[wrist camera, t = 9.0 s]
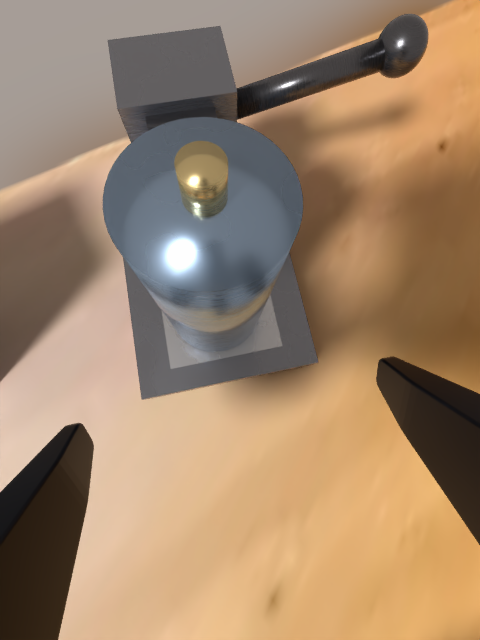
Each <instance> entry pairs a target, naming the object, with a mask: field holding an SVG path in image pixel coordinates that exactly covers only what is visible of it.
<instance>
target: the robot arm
mask: <svg viewBox="0 0 480 640" xmlns="http://www.w3.org/2000/svg"><path fill="white" fill-rule="evenodd" d="M376 381H377V385H378V387H379V389H380V391H381V393H382V395H383V397H384V398H385V400H386V402H387V404H388V406H389V408H390V410H391V411H392V413H393V415H394V417H395V419H396V421H397V423H398V424H399V426H400V428H401V430H402V431H403V433H404V434H405V436H406V437H407V439H408V440H409V442H410V443H411V445H412V446H413V448H414V449H415V451H416V452H417V453H418V455H419V456H420V458H421V459H422V461H423V462H424V464H425V465H426V467H427V468H428V470H429V471H430V473H431V474H432V476H433V477H434V478H435V480H436V481H437V483H438V484H439V486H440V487H441V489H442V490H443V492H444V493H445V495H446V496H447V498H448V499H449V501H450V502H451V503H452V505H453V506H454V508H455V509H456V511H457V512H458V514H459V515H460V517H461V518H462V520H463V521H464V523H465V524H466V526H467V527H468V528H469V530H470V531H471V533H472V534H473V536H474V537H475V539H476V540H477V542H478V543H479V545H480V394H479V393H476V392H474V391H472V390H469V389H467V388H465V387H462V386H460V385H458V384H456V383H453V382H451V381H449V380H446V379H444V378H442V377H440V376H437V375H435V374H433V373H430V372H428V371H426V370H424V369H421V368H419V367H417V366H414V365H412V364H410V363H408V362H405V361H403V360H401V359H398V358H396V357H387V358H382V359H380V360H379V363H378V370H377V377H376ZM93 451H94V445H93V441H92V439H91V437H90V436H89V434H88V432H87V430H86V429H85V427H84V426H83V424H81V423H76V424H71V425H67V426H65V427H64V428H63V429H62V430H61V431H60V432H59V433H58V434H57V435H56V436H55V437H54V438H53V439H52V440H51V441H50V442H49V443H48V444H47V445H46V446H45V447H44V448H43V449H42V450H41V451H40V452H39V453H38V454H37V455H36V456H35V457H34V458H33V459H32V460H31V461H30V462H29V464H28V465H27V466H26V467H25V468H24V469H23V470H22V471H21V472H20V473H19V474H18V475H17V476H16V477H15V478H14V479H13V480H12V481H11V482H10V483H9V484H8V485H7V486H6V487H5V488H4V489H3V490H2V491H1V492H0V640H58V637H59V633H60V628H61V624H62V619H63V614H64V610H65V605H66V601H67V596H68V591H69V587H70V582H71V578H72V573H73V568H74V564H75V559H76V555H77V550H78V545H79V541H80V536H81V532H82V527H83V522H84V518H85V513H86V508H87V503H88V496H89V488H90V478H91V469H92V460H93Z"/></svg>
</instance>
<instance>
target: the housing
mask: <svg viewBox="0 0 480 640" xmlns="http://www.w3.org/2000/svg"><path fill="white" fill-rule="evenodd" d="M103 213H104V220H105V223H106V227H107V230H108V233H109V235H110V237H111V239H112V241H113V243H114V244H115V246H116V247H117V249H118V250H119V252H120V253H121V255H122V256H123V257H124V259H125V260H126V261H127V263H128V264H129V266H130V267H131V268H132V270H133V271H134V273H135V274H136V275H137V277H138V278H139V280H140V281H141V282H142V284H143V285H144V286H145V288H146V289H147V291H148V292H149V293H150V295H151V296H152V298H153V299H154V300H155V302H156V303H157V305H158V306H159V307H160V309H161V310H162V311H163V313H164V314H165V316H166V317H167V318H168V320H169V321H170V323H171V324H172V325H173V327H174V328H175V330H176V331H177V332H178V334H179V335H180V336H181V337H182V338H183V339H184V340H185V341H186V342H187V343H189V344H190V345H192V346H194V347H196V348H198V349H201V350H205V351H215V352H217V351H224V350H229V349H231V348H234V347H236V346H238V345H240V344H241V343H242V342H244V341H245V340H246V339H247V338H248V337H249V336H250V335H251V334H252V332H253V331H254V329H255V327H256V325H257V323H258V320H259V318H260V316H261V314H262V311H263V309H264V307H265V305H266V302H267V300H268V298H269V296H270V294H271V291H272V289H273V287H274V285H275V282H276V280H277V278H278V276H279V273H280V271H281V269H282V267H283V264H284V262H285V260H286V258H287V256H288V253H289V251H290V249H291V247H292V244H293V242H294V240H295V238H296V235H297V233H298V231H299V227H300V224H301V220H302V213H303V195H302V190H301V185H300V182H299V179H298V176H297V174H296V172H295V170H294V168H293V166H292V164H291V163H290V161H289V160H288V158H287V157H286V155H285V154H284V153H283V152H282V151H281V150H280V148H279V147H278V146H276V145H275V144H274V143H273V142H272V141H271V140H270V139H268V138H267V137H265V136H264V135H262V134H261V133H259V132H257V131H256V130H254V129H252V128H250V127H247V126H245V125H243V124H240V123H237V122H233V121H230V120H226V119H220V118H211V117H192V118H185V119H179V120H175V121H171V122H167V123H165V124H162V125H159V126H157V127H155V128H153V129H151V130H149V131H147V132H145V133H144V134H142V135H141V136H139V137H138V138H136V139H135V140H134V141H133V142H132V143H131V144H130V145H128V146H127V147H126V148H125V150H124V151H123V152H122V153H121V154H120V155H119V157H118V158H117V160H116V161H115V163H114V164H113V166H112V168H111V170H110V172H109V174H108V177H107V180H106V183H105V187H104V194H103Z"/></svg>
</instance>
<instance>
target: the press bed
mask: <svg viewBox="0 0 480 640" xmlns="http://www.w3.org/2000/svg"><path fill="white" fill-rule="evenodd" d="M427 44H428V29H427V26H426V23H425V22H424V20H423V19H422V18H421V17H419V16H417V15H415V14H404V15H402V16H399V17H397V18H395V19H394V20H392V21H391V22H390V23H389V24H388V25H387V26H386V27H385V28H384V30H383V31H382V33H381V34H380V36H379V38H378V39H376V40H374V41H371V42H368V43H365V44H362V45H359V46H357V47H354V48H351V49H348V50H345V51H342V52H339V53H337V54H334V55H331V56H328V57H325V58H322V59H319V60H317V61H314V62H311V63H308V64H305V65H302V66H300V67H297V68H294V69H291V70H288V71H285V72H282V73H280V74H277V75H274V76H271V77H268V78H265V79H263V80H260V81H257V82H254V83H251V84H248V85H246V86H243V87H240V88H237V89H236V85H235V82H234V78H233V74H232V70H231V66H230V62H229V58H228V54H227V50H226V46H225V43H224V39H223V34H222V31H221V27H220V26H216V27H208V28H201V29H192V30H185V31H176V32H169V33H161V34H153V35H145V36H137V37H129V38H121V39H113V40H108V46H109V53H110V60H111V67H112V74H113V81H114V88H115V95H116V102H117V109H118V111H119V114H120V116H121V119H122V121H123V124H124V126H125V129H126V131H127V133H128V136H129V139H130V141H131V143H132V142H133V141H134V140H135V139H136V138H138V137H139V136H141V135H142V134H144V133H145V132H147V131H149V130H151V129H153V128H155V127H157V126H159V125H162V124H165V123H167V122H171V121H175V120H179V119H185V118H192V117H211V118H220V119H226V120H230V121H233V122H237V120H238V119H241V118H244V117H247V116H250V115H253V114H256V113H259V112H262V111H265V110H268V109H271V108H274V107H277V106H280V105H283V104H286V103H289V102H292V101H294V100H297V99H300V98H303V97H306V96H309V95H312V94H315V93H318V92H321V91H324V90H327V89H330V88H333V87H336V86H339V85H342V84H345V83H348V82H351V81H354V80H357V79H360V78H363V77H366V76H369V75H372V74H375V73H378V72H380V73H381V74H382V75H383V76H385V77H388V78H398V77H401V76H404V75H406V74H407V73H409V72H410V71H412V70H413V69H414V68H415V67H416V66H417V64H418V63H419V62H420V60H421V59H422V57H423V55H424V53H425V51H426V48H427ZM123 260H124V268H125V275H126V283H127V291H128V298H129V306H130V314H131V321H132V329H133V336H134V344H135V352H136V359H137V367H138V375H139V382H140V390H141V398H142V399H150V398H155V397H160V396H165V395H169V394H174V393H179V392H183V391H188V390H193V389H198V388H202V387H207V386H212V385H217V384H221V383H226V382H231V381H236V380H240V379H245V378H250V377H255V376H259V375H264V374H269V373H274V372H278V371H283V370H288V369H293V368H297V367H302V366H307V365H312V364H315V363H318V359H317V355H316V351H315V347H314V344H313V340H312V336H311V332H310V329H309V325H308V321H307V317H306V313H305V310H304V306H303V302H302V298H301V294H300V291H299V287H298V283H297V279H296V276H295V272H294V268H293V264H292V260H291V257H290V253H288V256H287V258H286V260H285V262H284V264H283V267H282V269H281V271H280V273H279V276H278V278H277V280H276V282H275V285H274V287H273V289H272V291H271V294H270V296H269V298H268V300H267V302H266V305H265V307H264V309H263V311H262V314H261V316H260V318H259V320H258V323H257V325H256V327H255V329H254V331H253V332H252V334H251V335H250V336H249V337H248V338H247V339H246V340H245V341H244V342H242V343H241V344H240V345H238V346H236V347H234V348H231V349H229V350H224V351H217V352H215V351H205V350H201V349H198V348H196V347H194V346H192V345H190V344H189V343H187V342H186V341H185V340H184V339H183V338H182V337H181V336H180V335H179V334H178V332H177V331H176V330H175V328H174V327H173V325H172V324H171V323H170V321H169V320H168V318H167V317H166V316H165V314H164V313H163V311H162V310H161V309H160V307H159V306H158V305H157V303H156V302H155V300H154V299H153V298H152V296H151V295H150V293H149V292H148V291H147V289H146V288H145V286H144V285H143V284H142V282H141V281H140V280H139V278H138V277H137V275H136V274H135V273H134V271H133V270H132V268H131V267H130V266H129V264H128V263H127V261H126V260H125V259H124V257H123Z"/></svg>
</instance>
